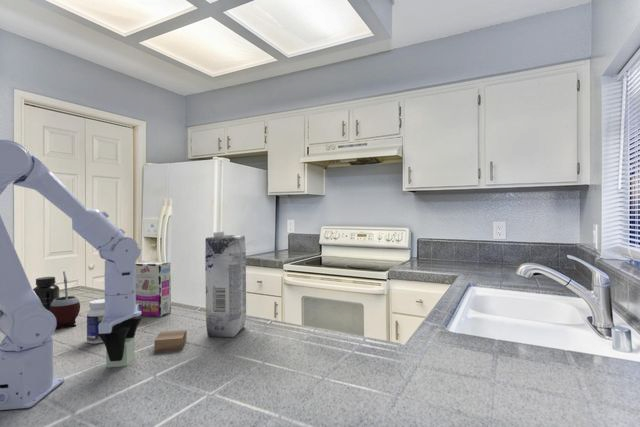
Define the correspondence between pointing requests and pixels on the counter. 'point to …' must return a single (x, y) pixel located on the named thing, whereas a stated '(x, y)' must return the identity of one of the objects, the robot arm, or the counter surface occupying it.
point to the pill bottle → (95, 320)
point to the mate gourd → (65, 309)
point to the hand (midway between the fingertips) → (120, 355)
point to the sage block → (127, 355)
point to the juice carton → (225, 284)
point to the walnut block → (170, 340)
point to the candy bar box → (153, 288)
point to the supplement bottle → (46, 291)
